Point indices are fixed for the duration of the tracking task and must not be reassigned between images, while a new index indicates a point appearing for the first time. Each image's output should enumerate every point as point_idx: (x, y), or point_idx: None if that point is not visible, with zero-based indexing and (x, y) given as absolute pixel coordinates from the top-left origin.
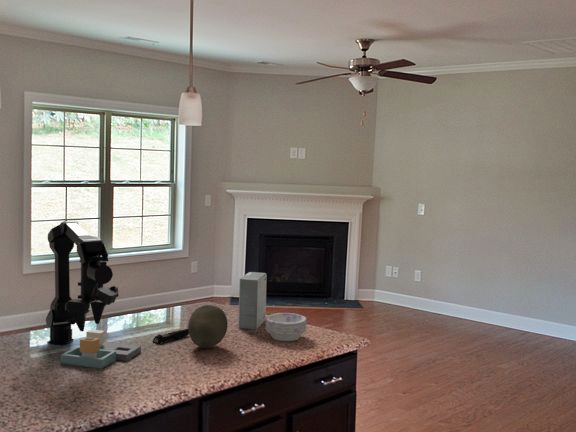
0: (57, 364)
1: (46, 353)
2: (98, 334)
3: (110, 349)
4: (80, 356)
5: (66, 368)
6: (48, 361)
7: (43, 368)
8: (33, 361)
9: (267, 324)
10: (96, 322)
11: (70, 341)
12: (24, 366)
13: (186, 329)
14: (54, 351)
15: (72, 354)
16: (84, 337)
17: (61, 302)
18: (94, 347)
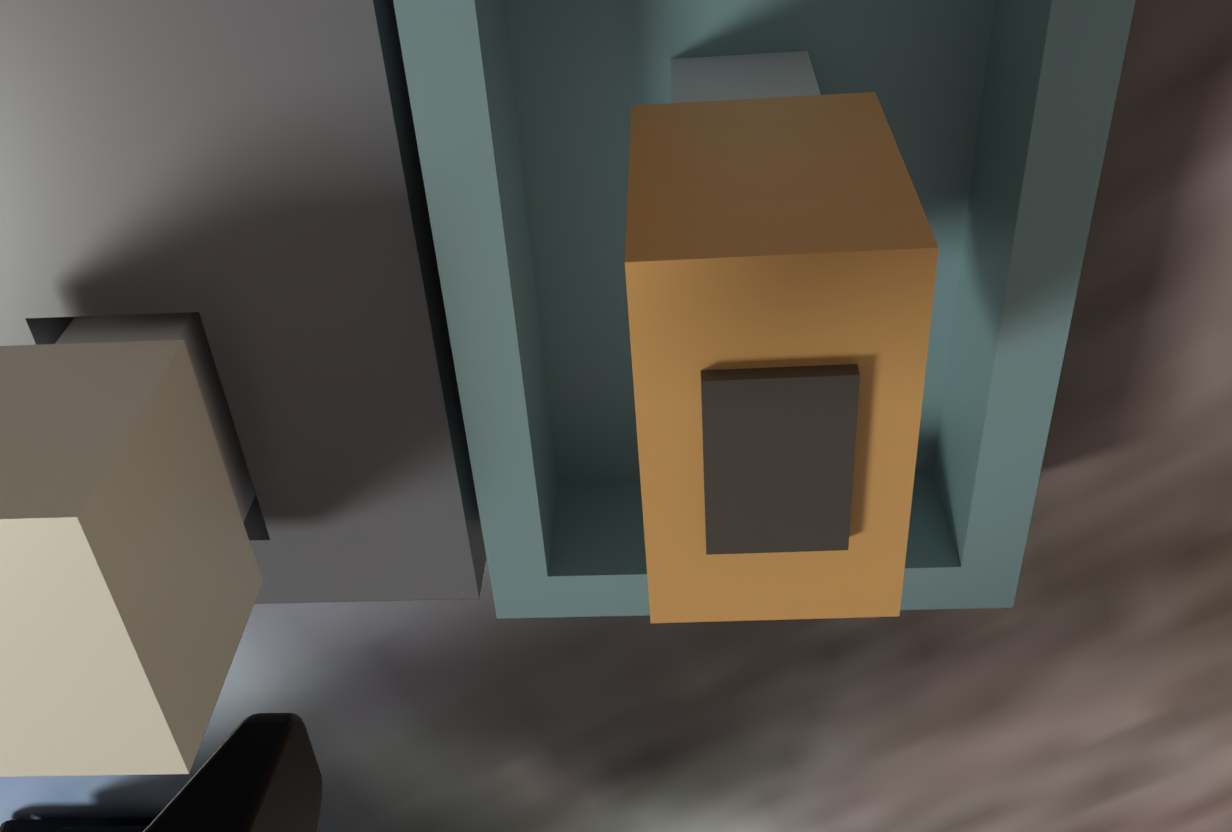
0: None
1: (613, 815)
2: (105, 529)
3: (147, 53)
4: (1042, 288)
5: (1170, 327)
6: (903, 670)
7: (1214, 587)
8: (952, 789)
9: None
10: (300, 804)
11: (81, 820)
12: (1163, 779)
13: None
14: (501, 787)
15: None
16: (699, 610)
17: None
18: (889, 158)
